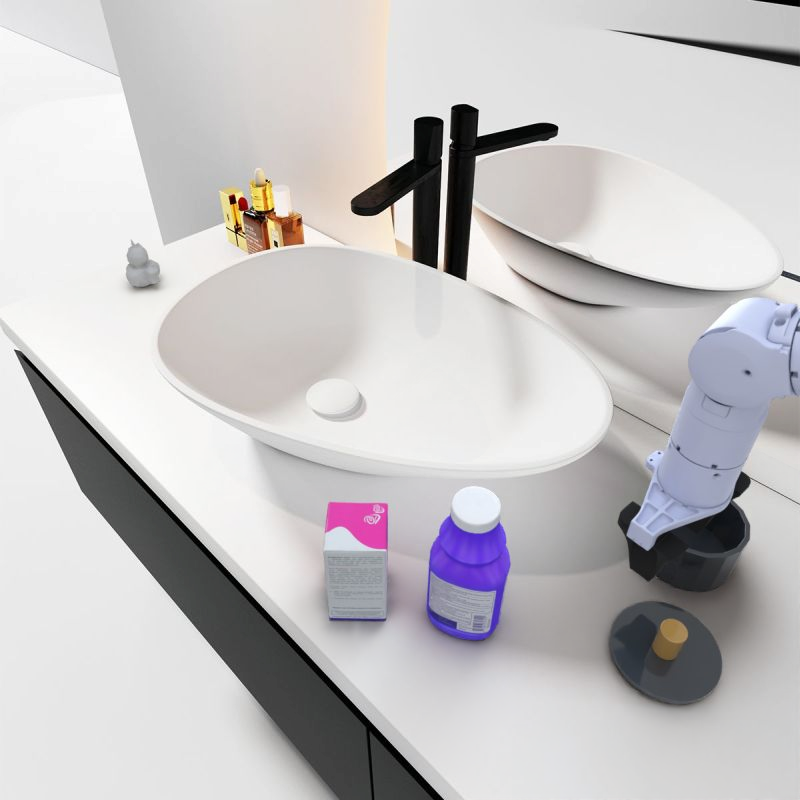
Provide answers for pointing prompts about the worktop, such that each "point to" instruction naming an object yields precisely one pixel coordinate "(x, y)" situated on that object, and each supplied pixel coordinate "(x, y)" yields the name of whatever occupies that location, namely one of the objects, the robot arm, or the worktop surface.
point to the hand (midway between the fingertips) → (665, 548)
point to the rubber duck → (141, 267)
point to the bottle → (469, 567)
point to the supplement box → (356, 561)
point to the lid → (665, 652)
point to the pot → (709, 551)
